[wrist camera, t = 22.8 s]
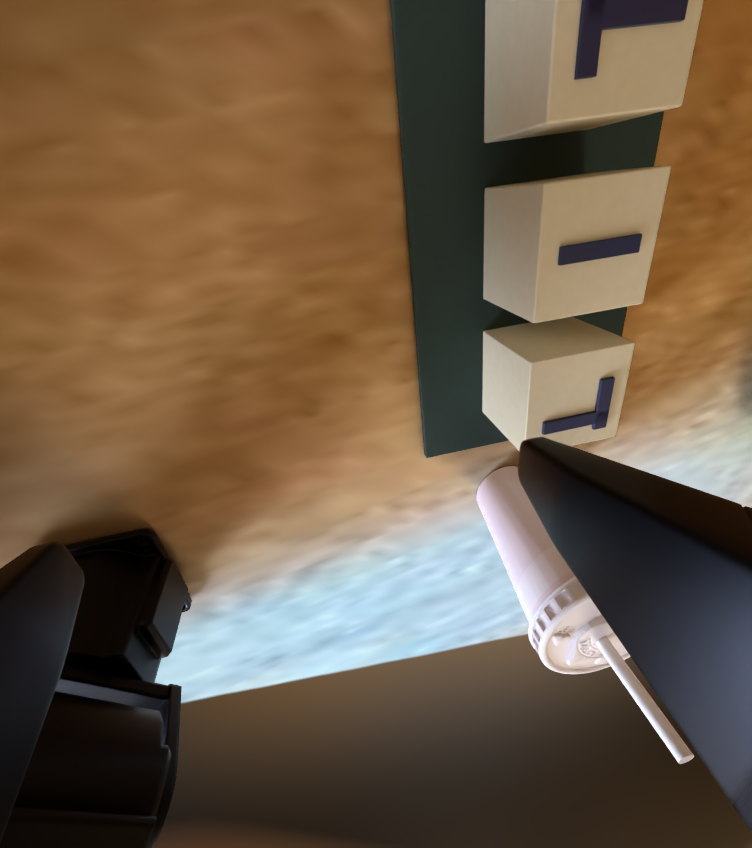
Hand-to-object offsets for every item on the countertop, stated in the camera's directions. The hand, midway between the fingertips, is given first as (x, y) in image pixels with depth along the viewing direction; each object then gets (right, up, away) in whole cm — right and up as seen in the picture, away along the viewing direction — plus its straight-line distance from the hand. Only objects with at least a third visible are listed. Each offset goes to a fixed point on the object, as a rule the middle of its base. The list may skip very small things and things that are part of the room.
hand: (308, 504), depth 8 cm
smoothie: (+9, -2, +18) cm, 20 cm away
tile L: (+9, +5, +13) cm, 16 cm away
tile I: (+8, +10, +10) cm, 16 cm away
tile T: (+7, +15, +7) cm, 18 cm away
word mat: (+8, +10, +10) cm, 16 cm away
